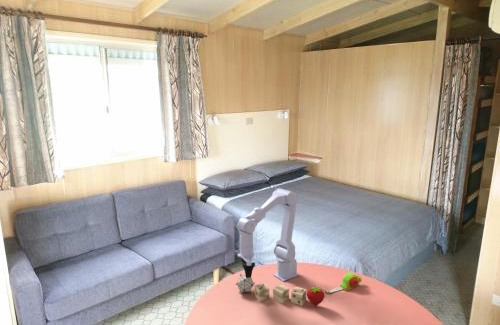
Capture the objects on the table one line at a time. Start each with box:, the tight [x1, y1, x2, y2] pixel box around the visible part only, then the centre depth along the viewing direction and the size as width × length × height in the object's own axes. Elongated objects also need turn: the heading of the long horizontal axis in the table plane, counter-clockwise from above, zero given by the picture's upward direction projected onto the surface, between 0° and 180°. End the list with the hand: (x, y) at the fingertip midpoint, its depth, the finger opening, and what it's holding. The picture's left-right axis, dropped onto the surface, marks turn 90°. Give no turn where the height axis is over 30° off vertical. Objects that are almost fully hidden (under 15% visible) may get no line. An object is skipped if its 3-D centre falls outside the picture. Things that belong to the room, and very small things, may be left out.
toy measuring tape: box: [324, 272, 363, 295], centre depth 158 cm, size 6×19×7 cm, turn 112°
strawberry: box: [306, 285, 326, 307], centre depth 144 cm, size 6×8×10 cm
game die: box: [235, 273, 256, 295], centre depth 156 cm, size 9×8×10 cm
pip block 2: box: [290, 286, 307, 307], centre depth 149 cm, size 5×5×5 cm
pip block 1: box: [254, 282, 270, 302], centre depth 152 cm, size 5×5×5 cm
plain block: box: [272, 284, 290, 304], centre depth 151 cm, size 5×5×5 cm
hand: (247, 273), depth 154 cm, fingers open, 7 cm apart
